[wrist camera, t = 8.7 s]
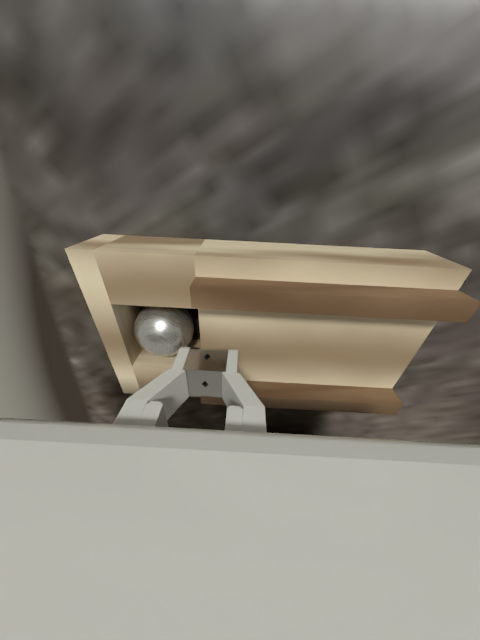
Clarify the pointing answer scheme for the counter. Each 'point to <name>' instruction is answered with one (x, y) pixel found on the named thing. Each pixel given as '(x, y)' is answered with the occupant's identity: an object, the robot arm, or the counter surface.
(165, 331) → the steel ball
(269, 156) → the counter surface
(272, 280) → the wooden sliding lid box
